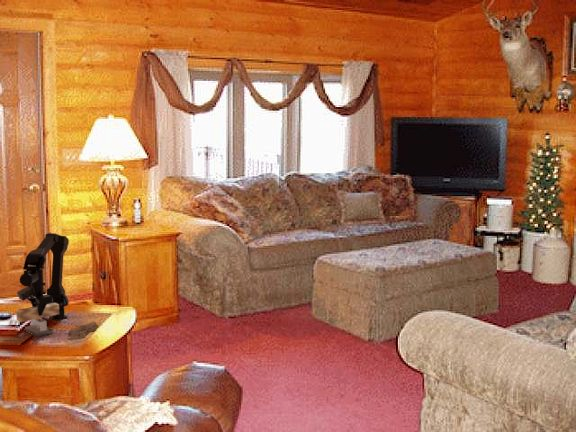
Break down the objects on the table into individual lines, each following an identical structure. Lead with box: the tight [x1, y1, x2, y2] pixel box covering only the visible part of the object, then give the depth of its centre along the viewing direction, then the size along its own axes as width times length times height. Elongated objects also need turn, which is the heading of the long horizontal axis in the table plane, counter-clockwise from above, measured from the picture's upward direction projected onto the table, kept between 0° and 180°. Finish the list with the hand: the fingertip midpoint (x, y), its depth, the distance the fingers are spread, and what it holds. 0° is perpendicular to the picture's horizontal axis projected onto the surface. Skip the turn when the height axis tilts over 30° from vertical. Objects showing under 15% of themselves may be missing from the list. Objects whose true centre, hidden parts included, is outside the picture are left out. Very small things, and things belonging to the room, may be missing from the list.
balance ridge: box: [24, 318, 54, 338], centre depth 321 cm, size 12×8×6 cm, turn 43°
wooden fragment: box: [67, 321, 100, 340], centre depth 324 cm, size 26×11×1 cm, turn 167°
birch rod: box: [15, 303, 59, 323], centre depth 320 cm, size 18×4×4 cm, turn 133°
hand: (38, 314), depth 320 cm, fingers closed on birch rod, 4 cm apart
